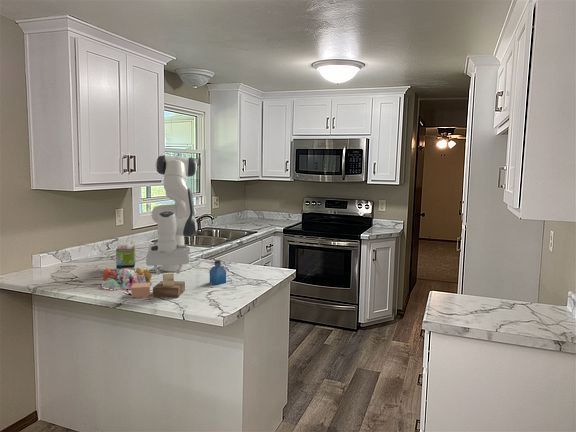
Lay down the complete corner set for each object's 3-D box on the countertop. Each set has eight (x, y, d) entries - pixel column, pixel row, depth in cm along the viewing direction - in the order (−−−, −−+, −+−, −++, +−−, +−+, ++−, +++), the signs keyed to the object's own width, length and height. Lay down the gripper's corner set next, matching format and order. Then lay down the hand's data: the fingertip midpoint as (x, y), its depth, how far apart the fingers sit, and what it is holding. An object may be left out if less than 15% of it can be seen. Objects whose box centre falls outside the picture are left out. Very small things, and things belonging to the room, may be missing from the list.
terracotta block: (133, 293, 218) (132, 283, 217) (150, 292, 220) (150, 282, 219) (131, 298, 210) (131, 288, 209) (149, 297, 212) (149, 286, 211)
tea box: (134, 273, 256) (133, 248, 254) (116, 274, 253) (115, 249, 252) (136, 267, 270) (135, 243, 269) (118, 268, 268) (117, 244, 266)
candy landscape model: (140, 276, 250) (140, 260, 249) (159, 285, 232) (159, 268, 231) (94, 284, 233) (94, 267, 232) (111, 294, 216) (111, 276, 215)
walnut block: (161, 290, 223) (160, 281, 223) (184, 291, 223) (184, 281, 222) (153, 297, 211) (152, 287, 211) (178, 298, 211) (177, 288, 210)
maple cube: (162, 283, 218) (162, 273, 217) (173, 282, 219) (173, 272, 219) (163, 286, 213) (162, 276, 213) (173, 285, 215) (173, 275, 214)
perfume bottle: (209, 282, 237) (209, 260, 236) (219, 280, 242) (219, 258, 240) (216, 285, 233) (216, 262, 232) (226, 282, 237) (225, 260, 236)
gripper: (189, 243, 220) (190, 271, 221) (146, 245, 215) (146, 273, 217) (189, 246, 214) (190, 274, 215) (145, 247, 209) (146, 276, 211)
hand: (168, 273), depth 216 cm, fingers open, 8 cm apart
